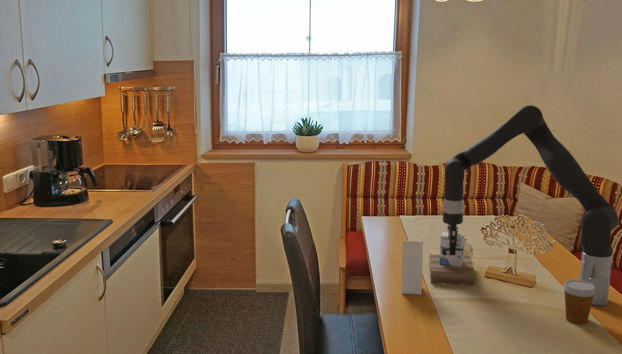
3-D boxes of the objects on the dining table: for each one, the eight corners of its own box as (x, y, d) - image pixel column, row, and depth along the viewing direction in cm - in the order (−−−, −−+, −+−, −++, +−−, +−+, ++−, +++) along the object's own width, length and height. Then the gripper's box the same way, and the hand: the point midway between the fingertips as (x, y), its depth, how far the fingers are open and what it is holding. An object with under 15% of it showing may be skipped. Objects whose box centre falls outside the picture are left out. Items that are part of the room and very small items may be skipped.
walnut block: (474, 285, 212) (474, 272, 211) (430, 283, 214) (431, 270, 213) (469, 267, 229) (470, 256, 228) (429, 266, 232) (429, 254, 231)
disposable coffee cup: (565, 310, 189) (568, 276, 187) (596, 318, 183) (599, 283, 181) (556, 321, 182) (559, 286, 180) (588, 329, 176) (591, 293, 174)
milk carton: (421, 295, 204) (422, 244, 200) (401, 293, 205) (402, 243, 201) (421, 287, 211) (422, 238, 207) (402, 286, 212) (403, 237, 208)
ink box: (439, 264, 220) (439, 235, 217) (441, 260, 224) (442, 231, 222) (461, 267, 216) (462, 237, 214) (463, 262, 221) (464, 233, 218)
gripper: (464, 215, 209) (463, 258, 212) (461, 205, 222) (460, 246, 226) (444, 215, 210) (442, 257, 213) (442, 205, 224) (440, 245, 227)
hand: (451, 251), depth 220 cm, fingers open, 7 cm apart
